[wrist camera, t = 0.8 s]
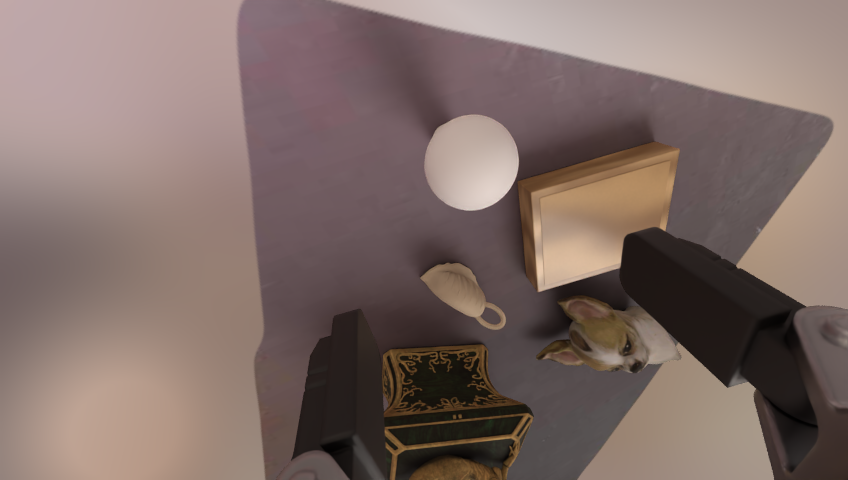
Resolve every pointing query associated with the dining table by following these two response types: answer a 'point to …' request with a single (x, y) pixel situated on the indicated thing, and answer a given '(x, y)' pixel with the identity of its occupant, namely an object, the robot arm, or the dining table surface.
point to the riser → (593, 212)
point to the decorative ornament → (460, 291)
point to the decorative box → (448, 416)
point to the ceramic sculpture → (610, 337)
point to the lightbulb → (471, 162)
